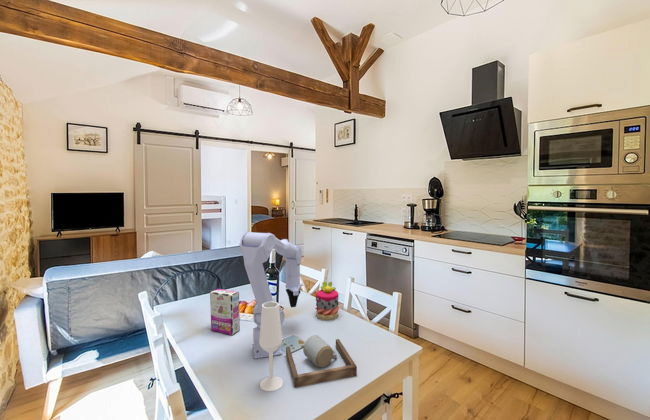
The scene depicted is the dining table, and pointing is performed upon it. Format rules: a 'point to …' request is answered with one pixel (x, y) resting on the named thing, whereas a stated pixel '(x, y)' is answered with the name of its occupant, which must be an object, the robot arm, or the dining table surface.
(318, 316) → the cake
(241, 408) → the dining table surface
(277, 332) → the champagne flute
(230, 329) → the candy bar box
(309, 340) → the ceramic mug
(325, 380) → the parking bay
